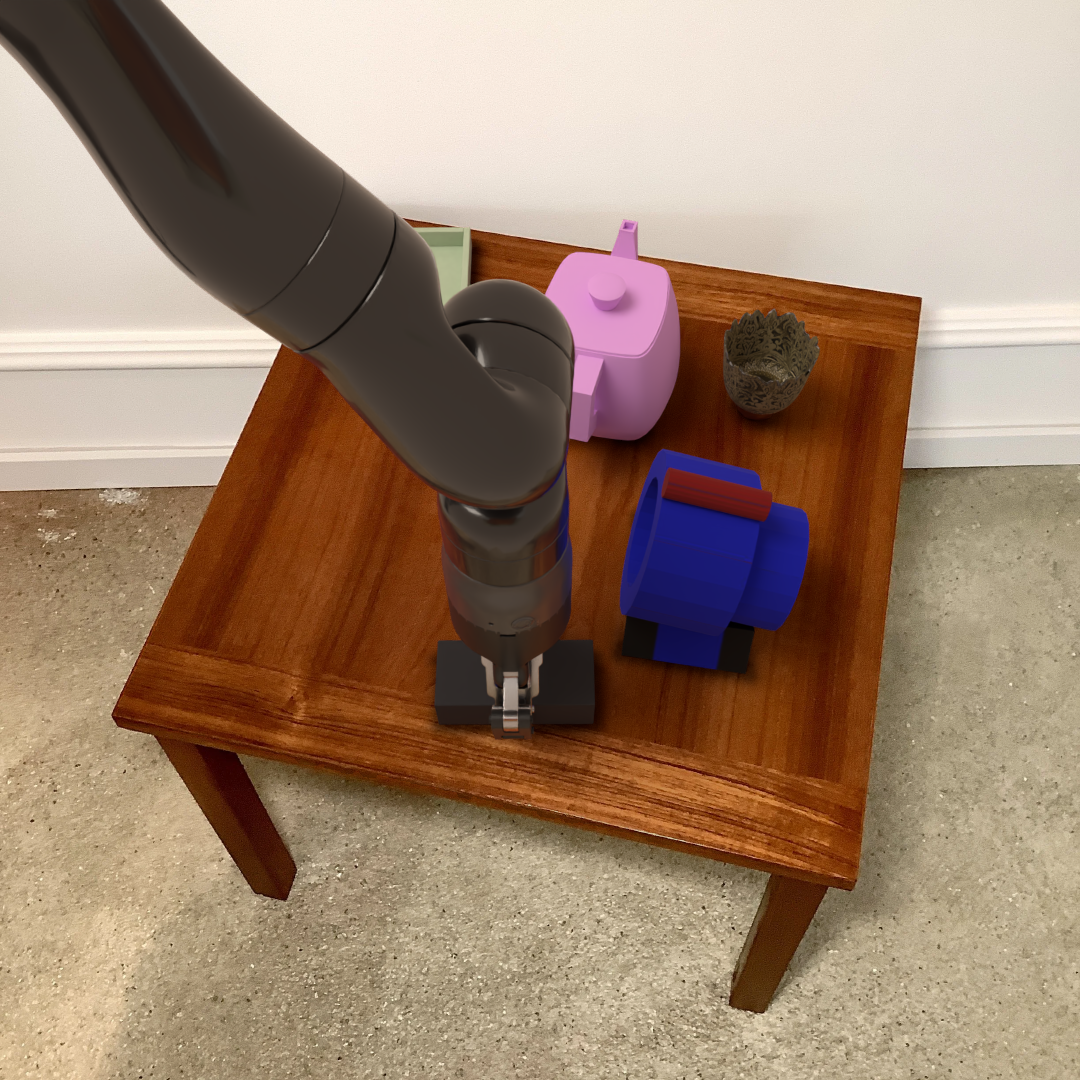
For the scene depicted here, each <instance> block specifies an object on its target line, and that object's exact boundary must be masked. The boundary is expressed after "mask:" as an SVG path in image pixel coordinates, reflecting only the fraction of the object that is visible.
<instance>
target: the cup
mask: <svg viewBox="0 0 1080 1080" xmlns="http://www.w3.org/2000/svg"><path fill="white" fill-rule="evenodd" d="M820 351H821V348H820V347H819V338H818V336H817V335H815V336H812V337H811V336H810V334H809V333H807V332H806V322H805V321H804V320H800V321H798V319H797V316H796V314H795V313H794V312H792V311H791V312H789V311H788V312H785V313H783V314H781V315H778V312H777V310H776V308H772V309H771V310H770V311H768V313H767V315H766V316H765V315H764V313H762V311H760V310H759V309H755V310H754V311H753V313H749V312H748V311H745V313H743V314H742V316H741V317H740V319H739V322H738V319H737V318H734V319H733V321H732V322H731V325H730V329H726V330H724V335H723V361H722V370H723V371H722V374H723V376H722V377H723V383H724V387H725V391H726V392H727V395H728V396H729V398H730V399H731V401H732V402H733V403H734V404H735V406H736V409H737V410H738V411H739V413H740V414H741V415H742V416H744V417H745V418H747V419H750V420H753V421H763V420H767V419H769V418H770V417H772V416H774V415H775V413H776V414H777V413H778V412H781V411H783V410H786V408H788V407H789V406H790V405H792V403H793V402H794V401H796V399H797V398H798V396H799V395H800V393H801V392H802V390H803V389H804V387H805V385H806V383H807V381H808V379H809V377H810V376H811V373H812V371H813V368H814V367H815V365H816V363H817V361H818V359H819V356H820V353H821V352H820Z"/></svg>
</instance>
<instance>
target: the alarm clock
mask: <svg viewBox="0 0 1080 1080" xmlns="http://www.w3.org/2000/svg"><path fill="white" fill-rule="evenodd" d="M760 477H761V476H760V475H759V474H758V473H757V472H756V471H755V470H752V469H748V468H743V467H740V466H736V465H732V464H727V463H723V462H719V461H715V460H711V459H707V458H702V457H698V456H694V455H690V454H686V453H682V452H678V451H675V450H670V449H665V448H662V449H660V450H659V451H658V452H657V454H656V456H655V458H654V459H653V461H652V463H651V466H650V468H649V471H648V473H647V475H646V478H645V481H644V483H643V487H642V489H641V492H640V496H639V498H638V502H637V505H636V510H635V513H634V517H633V519H632V520H633V521H632V524H631V528H630V533H629V538H628V542H627V546H626V551H625V557H624V562H623V568H622V575H621V581H620V589H619V609H620V613H621V615H622V616H626V617H625V622H624V623H625V625H624V631H623V638H622V645H621V653H620V655H621V656H624V657H631V658H638V659H645V660H652V661H657V662H658V661H659V662H665V663H672V664H677V665H684V666H690V667H696V668H703V669H710V670H717V671H722V672H729V673H737V674H742V675H746V673H747V669H748V665H749V660H750V656H751V651H752V646H753V641H754V638H755V637H754V636H755V632H756V629H755V628H758V629H762V630H766V631H771V632H776V631H777V630H778V629H780V628H781V627H782V626H783V625H784V623H785V622H786V620H787V618H788V617H789V616H790V613H791V612H792V610H793V607H794V605H795V602H796V600H797V598H798V594H799V591H800V588H801V585H802V583H803V582H802V581H803V578H804V575H805V570H806V565H807V561H808V554H809V544H810V523H809V519H808V514H807V512H805V510H803V508H800V507H795V506H791V505H787V504H783V503H779V502H774V501H773V492H772V491H769V490H765V489H763V487H762V482H761V478H760Z"/></svg>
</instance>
